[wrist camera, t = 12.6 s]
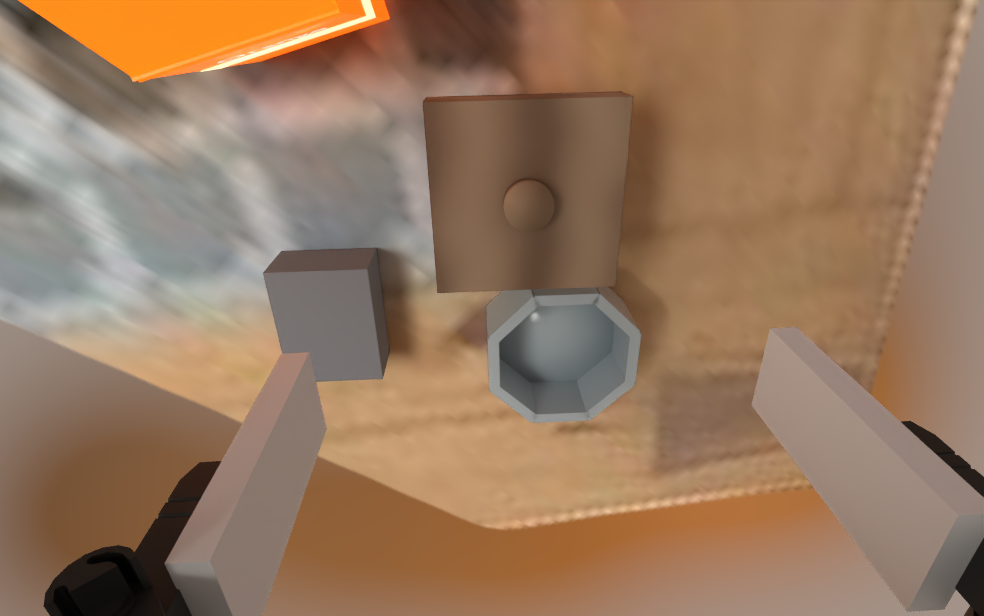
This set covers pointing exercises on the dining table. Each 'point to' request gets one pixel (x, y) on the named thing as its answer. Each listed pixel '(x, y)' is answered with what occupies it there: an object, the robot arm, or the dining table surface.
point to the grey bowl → (560, 351)
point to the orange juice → (202, 29)
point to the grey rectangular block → (331, 311)
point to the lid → (527, 189)
